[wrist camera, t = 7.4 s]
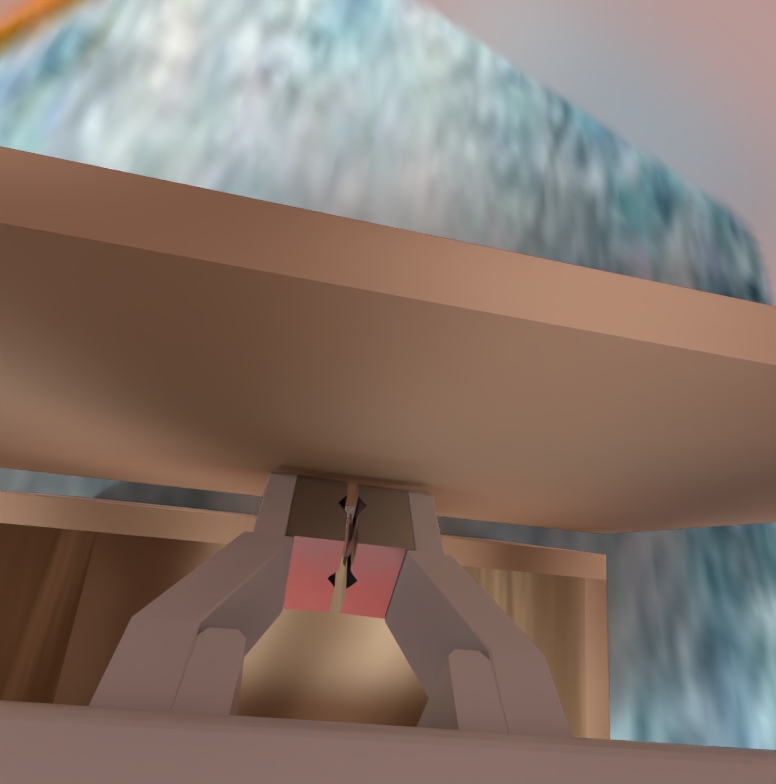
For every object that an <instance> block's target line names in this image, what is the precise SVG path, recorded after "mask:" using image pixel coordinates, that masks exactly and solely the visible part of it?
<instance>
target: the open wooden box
mask: <svg viewBox="0 0 776 784" xmlns="http://www.w3.org/2000/svg"><path fill="white" fill-rule="evenodd" d="M256 519H257V515H254V514H244V513H235V512H225V511H215V510H206V509H196V508H187V507H177V506H168V505H158V504H148V503H139V502H129V501H120V500H110V499H101V498H90V497H77V496H64V495H51V494H38V493H25V492H12V491H0V700H3V701H19V702H34V703H50V704H65V705H81V706H89V704H90V702H91V700H92V698H93V696H94V694H95V692H96V689H97V687H98V685H99V683H100V681H101V679H102V677H103V675H104V673H105V671H106V669H107V667H108V665H109V663H110V661H111V659H112V657H113V654H114V652H115V650H116V648H117V646H118V644H119V642H120V640H121V638H122V636H123V634H124V632H125V630H126V628H127V626H128V624H129V622H130V619H131V617H132V616H134V615H135V614H136V613H138V612H139V611H140V610H142V609H143V608H144V607H146V606H147V605H148V604H150V603H151V602H152V601H154V600H155V599H156V598H157V597H159V596H160V595H161V594H163V593H164V592H165V591H167V590H168V589H169V588H171V587H172V586H173V585H175V584H176V583H177V582H179V581H180V580H181V579H182V578H184V577H185V576H186V575H188V574H189V573H190V572H192V571H193V570H194V569H196V568H197V567H198V566H200V565H201V564H202V563H204V562H205V561H206V560H207V559H209V558H210V557H211V556H213V555H214V554H215V553H217V552H218V551H219V550H221V549H222V548H223V547H225V546H226V545H227V544H229V543H230V542H231V541H232V540H234V539H235V538H236V537H238V536H239V535H240V534H242V533H243V532H244V531H247V532H253V530H254V526H255V523H256ZM346 529H347V524H346ZM345 535H346V533H345ZM441 539H442V544H443V549H444V554H445V555H451V556H453V557H454V558H455V559H456V560H457V562H458V563H459V564H460V565H461V566H462V567H463V568H464V569H465V570H466V571H467V572H468V573H469V574H470V576H471V577H472V578H473V579H474V580H475V581H476V582H477V583H478V584H479V585H480V586H481V587H482V588H483V590H484V591H485V592H486V593H487V594H488V595H489V596H490V597H491V598H492V599H493V600H494V601H495V602H496V604H497V605H498V606H499V607H500V608H501V609H502V610H503V611H504V612H505V613H506V614H507V615H508V616H509V618H510V619H511V620H512V621H513V622H514V623H515V624H516V625H517V626H518V627H519V628H520V629H521V630H522V631H523V633H524V634H525V635H526V636H527V637H528V638H529V639H530V640H531V641H532V642H533V643H534V644H535V645H536V647H537V648H538V649H539V650H540V651H541V652H542V653H543V654H544V655H545V658H546V661H547V664H548V667H549V670H550V672H551V675H552V678H553V681H554V684H555V687H556V690H557V693H558V696H559V699H560V702H561V705H562V707H563V710H564V713H565V716H566V719H567V722H568V725H569V728H570V731H571V734H572V737H579V738H595V739H610V716H609V669H608V622H607V575H606V555H605V554H597V553H590V552H582V551H575V550H567V549H560V548H552V547H545V546H537V545H530V544H522V543H515V542H507V541H500V540H492V539H484V538H474V537H464V536H455V535H445V534H441ZM343 551H344V548H343ZM344 571H345V566H344V564H343V553H342V558H341V562H340V567H339V570H338V571H336V576H335V588H334V592H333V597H332V601H331V605H330V609H329V612H320V611H306V610H291V609H283V611H282V613H281V614H280V615H279V616H278V618H277V619H276V620H275V621H274V622H273V624H272V625H271V626H270V627H269V628H268V630H267V631H266V632H265V633H264V634H263V636H262V637H261V638H260V639H259V640H258V642H257V643H256V644H255V645H254V646H253V648H252V649H251V650H250V651H249V652H248V654H247V655H246V656H245V657H244V663H243V672H242V681H241V690H240V699H239V708H238V716H251V717H267V718H282V719H298V720H313V721H329V722H344V723H360V724H376V725H391V726H407V727H416V726H417V724H418V722H419V720H420V718H421V715H422V713H423V711H424V709H425V707H426V704H427V702H428V700H429V698H428V696H427V694H426V693H425V691H424V689H423V687H422V686H421V684H420V682H419V680H418V679H417V677H416V675H415V673H414V672H413V670H412V668H411V666H410V665H409V663H408V661H407V659H406V658H405V656H404V654H403V653H402V651H401V649H400V647H399V646H398V644H397V642H396V640H395V639H394V637H393V635H392V633H391V632H390V630H389V628H388V626H387V625H386V623H385V619H382V618H374V617H366V616H358V615H350V614H342V613H341V588H342V579H343V575H344Z"/></svg>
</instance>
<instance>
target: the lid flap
mask: <svg viewBox="0 0 776 784" xmlns="http://www.w3.org/2000/svg"><path fill="white" fill-rule="evenodd" d="M0 467H1V468H11V469H20V470H29V471H38V472H47V473H56V474H65V475H74V476H83V477H92V478H101V479H110V480H119V481H128V482H137V483H146V484H155V485H164V486H173V487H182V488H191V489H200V490H209V491H218V492H227V493H237V494H246V495H255V496H263V494H264V490H265V487H266V483H267V480H268V476H269V474H270V472H271V471H278V472H284V473H291V474H296V475H297V476H298V474H300V475H306V476H312V477H318V478H325V479H331V480H337V481H344V482H348V495H347V500H346V505H345V506H353V497H354V493H355V489H356V486H357V484H364V485H372V486H380V487H387V488H395V489H403V490H406V489H408V490H417V491H425V492H431V494H432V495H433V498H434V503H435V508H436V513H437V516H444V517H453V518H463V519H472V520H481V521H490V522H499V523H508V524H517V525H526V526H535V527H544V528H553V529H562V530H571V531H580V532H589V533H598V534H610V533H625V532H640V531H655V530H669V529H684V528H699V527H714V526H729V525H743V524H758V523H773V522H776V306H771V305H766V304H761V303H756V302H752V301H747V300H742V299H737V298H732V297H727V296H723V295H718V294H713V293H708V292H703V291H698V290H694V289H689V288H684V287H679V286H674V285H669V284H664V283H660V282H655V281H650V280H645V279H640V278H635V277H631V276H626V275H621V274H616V273H611V272H606V271H601V270H597V269H592V268H587V267H582V266H577V265H572V264H568V263H563V262H558V261H553V260H548V259H543V258H539V257H534V256H529V255H524V254H519V253H514V252H509V251H505V250H500V249H495V248H490V247H485V246H480V245H476V244H471V243H466V242H461V241H456V240H451V239H447V238H442V237H437V236H432V235H427V234H422V233H417V232H413V231H408V230H403V229H398V228H393V227H388V226H384V225H379V224H374V223H369V222H364V221H359V220H354V219H350V218H345V217H340V216H335V215H330V214H325V213H321V212H316V211H311V210H306V209H301V208H296V207H292V206H287V205H282V204H277V203H272V202H267V201H262V200H258V199H253V198H248V197H243V196H238V195H233V194H229V193H224V192H219V191H214V190H209V189H204V188H199V187H195V186H190V185H185V184H180V183H175V182H170V181H166V180H161V179H156V178H151V177H146V176H141V175H137V174H132V173H127V172H122V171H117V170H112V169H107V168H103V167H98V166H93V165H88V164H83V163H78V162H74V161H69V160H64V159H59V158H54V157H49V156H44V155H40V154H35V153H30V152H25V151H20V150H15V149H11V148H6V147H1V146H0ZM296 481H297V480H296Z"/></svg>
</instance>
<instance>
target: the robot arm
mask: <svg viewBox="0 0 776 784" xmlns="http://www.w3.org/2000/svg"><path fill="white" fill-rule="evenodd" d="M296 480H297V481H296ZM347 495H348V482H344V481H337V480H331V479H325V478H318V477H312V476H306V475H300V474H298V476H297V475H296V474H291V473H284V472H278V471H271V472H270V474H269V476H268V480H267V483H266V487H265V490H264V494H263V497H262V501H261V505H260V508H259V512H258V515H257V519H256V523H255V526H254V530H253V532H247V531H244V532H243V533H242V534H240V535H239V536H238V537H236V538H235V539H234V540H232V541H231V542H230V543H229V544H227V545H226V546H225V547H223V548H222V549H221V550H219V551H218V552H217V553H215V554H214V555H213V556H211V557H210V558H209V559H207V560H206V561H205V562H204V563H202V564H201V565H200V566H198V567H197V568H196V569H194V570H193V571H192V572H190V573H189V574H188V575H186V576H185V577H184V578H182V579H181V580H180V581H179V582H177V583H176V584H175V585H173V586H172V587H171V588H169V589H168V590H167V591H165V592H164V593H163V594H161V595H160V596H159V597H157V598H156V599H155V600H154V601H152V602H151V603H150V604H148V605H147V606H146V607H144V608H143V609H142V610H140V611H139V612H138V613H136V614H135V615H134V616H132V617H131V619H130V622H129V624H128V626H127V628H126V630H125V632H124V634H123V636H122V638H121V640H120V642H119V644H118V646H117V648H116V650H115V652H114V654H113V657H112V659H111V661H110V663H109V665H108V667H107V669H106V671H105V673H104V675H103V677H102V679H101V681H100V683H99V685H98V687H97V689H96V692H95V694H94V696H93V698H92V700H91V702H90V704H89V706H81V705H65V704H50V703H34V702H19V701H3V700H0V784H776V750H765V749H750V748H734V747H719V746H703V745H688V744H672V743H657V742H641V741H626V740H610V739H595V738H579V737H572V734H571V731H570V728H569V725H568V722H567V719H566V716H565V713H564V710H563V707H562V705H561V702H560V699H559V696H558V693H557V690H556V687H555V684H554V681H553V678H552V675H551V672H550V670H549V667H548V664H547V661H546V658H545V655H544V654H543V653H542V652H541V651H540V650H539V649H538V648H537V647H536V645H535V644H534V643H533V642H532V641H531V640H530V639H529V638H528V637H527V636H526V635H525V634H524V633H523V631H522V630H521V629H520V628H519V627H518V626H517V625H516V624H515V623H514V622H513V621H512V620H511V619H510V618H509V616H508V615H507V614H506V613H505V612H504V611H503V610H502V609H501V608H500V607H499V606H498V605H497V604H496V602H495V601H494V600H493V599H492V598H491V597H490V596H489V595H488V594H487V593H486V592H485V591H484V590H483V588H482V587H481V586H480V585H479V584H478V583H477V582H476V581H475V580H474V579H473V578H472V577H471V576H470V574H469V573H468V572H467V571H466V570H465V569H464V568H463V567H462V566H461V565H460V564H459V563H458V562H457V560H456V559H455V558H454V557H453V556H451V555H445V554H444V549H443V544H442V539H441V534H440V528H439V523H438V518H437V513H436V508H435V503H434V498H433V495H432V494H431V492H425V491H417V490H408V489H406V490H403V489H395V488H387V487H380V486H372V485H364V484H357V486H356V489H355V493H354V497H353V511H352V514H351V515H349V519H348V524H347V529H346V516H347V513H346V511H345V510H344V509H345V505H346V500H347ZM345 533H346V535H345ZM343 548H344V551H343ZM342 553H343V564H344V566H345V571H344V575H343V579H342V588H341V613H342V614H350V615H358V616H366V617H374V618H382V619H385V623H386V625H387V626H388V628H389V630H390V632H391V633H392V635H393V637H394V639H395V640H396V642H397V644H398V646H399V647H400V649H401V651H402V653H403V654H404V656H405V658H406V659H407V661H408V663H409V665H410V666H411V668H412V670H413V672H414V673H415V675H416V677H417V679H418V680H419V682H420V684H421V686H422V687H423V689H424V691H425V693H426V694H427V696H428V698H429V700H428V702H427V704H426V707H425V709H424V711H423V713H422V715H421V718H420V720H419V722H418V724H417V726H416V727H407V726H391V725H376V724H360V723H344V722H329V721H313V720H298V719H282V718H267V717H251V716H238V708H239V699H240V690H241V681H242V672H243V663H244V657H245V656H246V655H247V654H248V652H249V651H250V650H251V649H252V648H253V646H254V645H255V644H256V643H257V642H258V640H259V639H260V638H261V637H262V636H263V634H264V633H265V632H266V631H267V630H268V628H269V627H270V626H271V625H272V624H273V622H274V621H275V620H276V619H277V618H278V616H279V615H280V614H281V613H282V611H283V609H291V610H306V611H320V612H329V609H330V605H331V601H332V597H333V592H334V588H335V576H336V571H338V570H339V567H340V562H341V558H342Z"/></svg>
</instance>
